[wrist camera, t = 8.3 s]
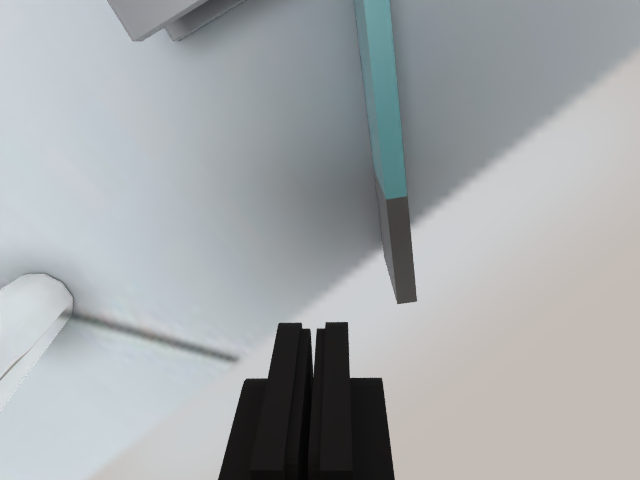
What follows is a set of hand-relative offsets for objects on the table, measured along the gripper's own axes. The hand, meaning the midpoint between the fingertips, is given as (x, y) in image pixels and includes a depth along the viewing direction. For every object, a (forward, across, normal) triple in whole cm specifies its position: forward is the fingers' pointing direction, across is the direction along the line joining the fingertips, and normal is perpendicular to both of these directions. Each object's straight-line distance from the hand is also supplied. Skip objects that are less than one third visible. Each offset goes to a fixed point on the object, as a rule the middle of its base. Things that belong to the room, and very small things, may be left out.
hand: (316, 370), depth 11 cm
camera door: (+12, -2, -4) cm, 13 cm away
